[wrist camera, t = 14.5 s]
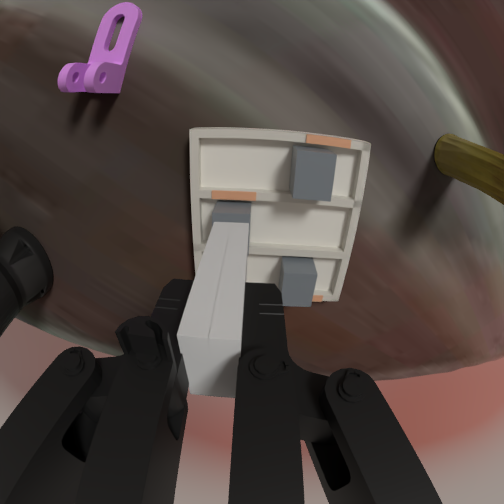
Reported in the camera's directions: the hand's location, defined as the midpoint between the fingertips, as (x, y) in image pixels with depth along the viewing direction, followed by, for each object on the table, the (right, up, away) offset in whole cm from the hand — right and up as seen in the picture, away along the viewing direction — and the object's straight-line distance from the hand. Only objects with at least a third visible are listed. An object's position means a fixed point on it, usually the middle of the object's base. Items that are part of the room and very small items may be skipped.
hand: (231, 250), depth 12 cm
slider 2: (+7, +9, +17) cm, 21 cm away
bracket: (-16, +26, +11) cm, 33 cm away
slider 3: (+7, -3, +24) cm, 25 cm away
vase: (+28, +14, +16) cm, 35 cm away
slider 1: (-1, +4, +21) cm, 21 cm away
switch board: (+4, +4, +22) cm, 23 cm away
